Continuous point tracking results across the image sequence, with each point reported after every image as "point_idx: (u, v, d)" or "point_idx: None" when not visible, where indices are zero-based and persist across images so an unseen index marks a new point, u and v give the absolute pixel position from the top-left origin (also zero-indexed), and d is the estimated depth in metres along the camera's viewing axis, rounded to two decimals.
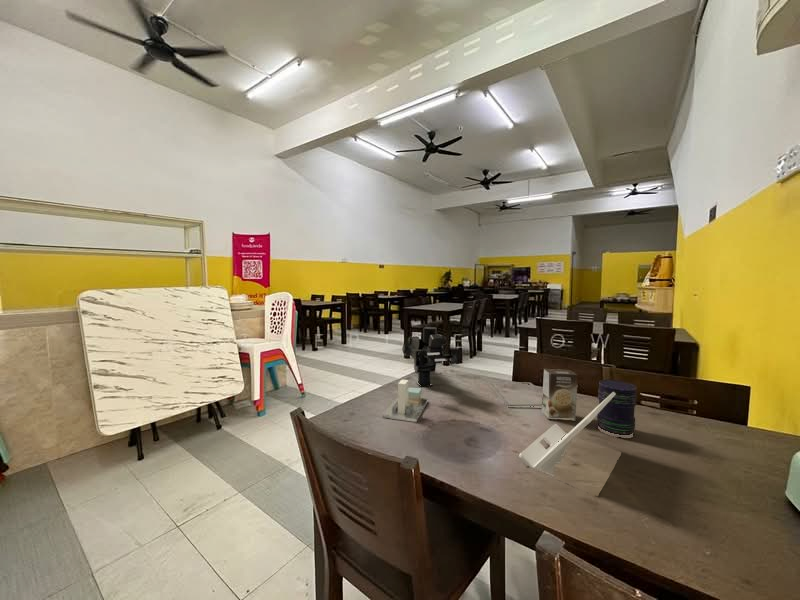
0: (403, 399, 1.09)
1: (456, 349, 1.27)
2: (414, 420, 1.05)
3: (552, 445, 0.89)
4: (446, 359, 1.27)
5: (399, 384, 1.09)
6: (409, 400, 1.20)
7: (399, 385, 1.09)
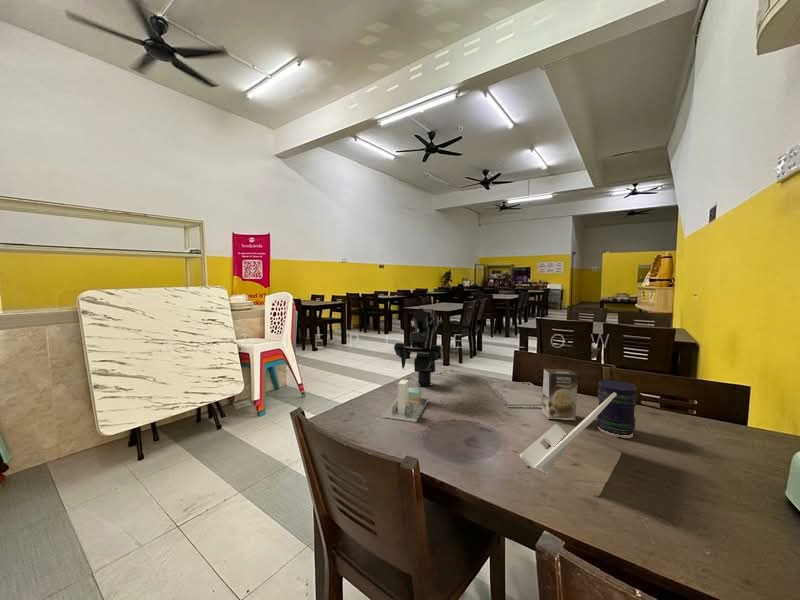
0: (403, 399, 1.09)
1: (436, 350, 1.22)
2: (414, 420, 1.05)
3: (553, 445, 0.89)
4: (428, 352, 1.26)
5: (399, 384, 1.09)
6: (409, 400, 1.20)
7: (399, 385, 1.09)
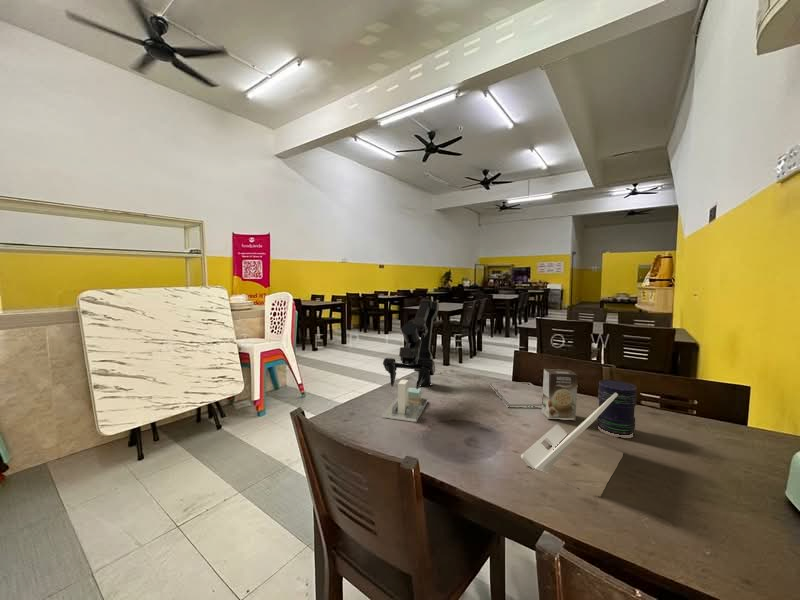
0: (403, 399, 1.09)
1: (427, 366, 1.13)
2: (414, 420, 1.05)
3: (554, 446, 0.89)
4: (419, 369, 1.18)
5: (399, 384, 1.09)
6: (409, 400, 1.20)
7: (399, 385, 1.09)
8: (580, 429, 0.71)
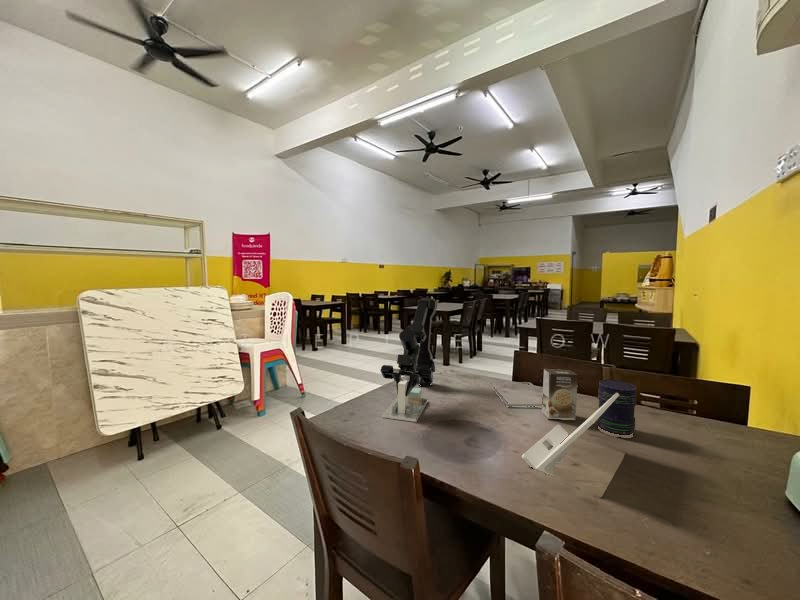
0: (403, 399, 1.09)
1: (425, 374, 1.10)
2: (414, 420, 1.05)
3: (555, 446, 0.89)
4: None
5: (399, 384, 1.09)
6: (409, 400, 1.20)
7: (399, 385, 1.09)
8: (581, 429, 0.71)
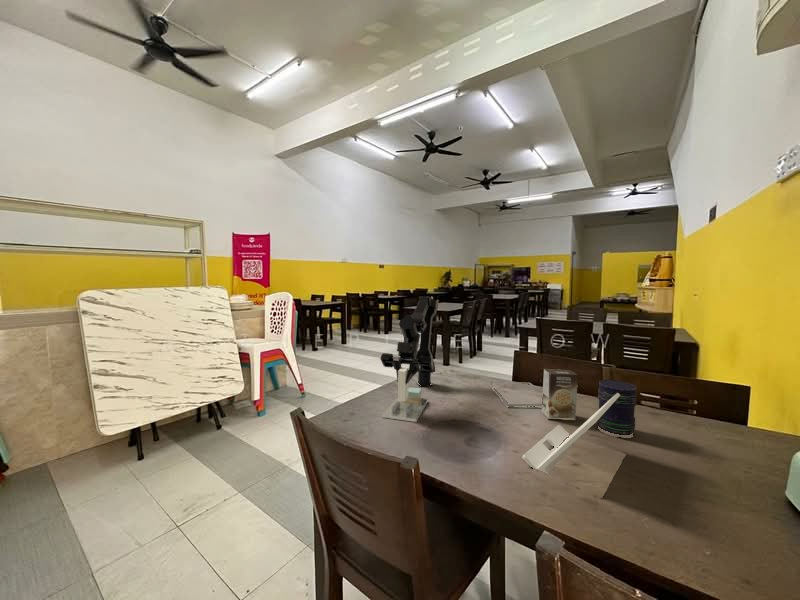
0: (403, 387, 1.09)
1: (425, 361, 1.10)
2: (414, 420, 1.05)
3: (556, 446, 0.89)
4: None
5: (399, 372, 1.09)
6: (409, 400, 1.20)
7: (399, 373, 1.09)
8: (582, 430, 0.71)
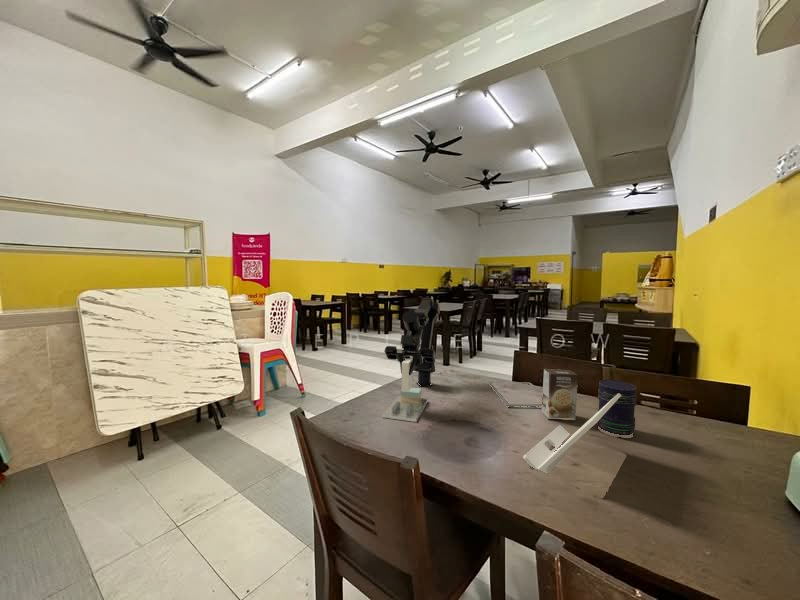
0: (407, 378, 1.13)
1: (428, 353, 1.14)
2: (414, 420, 1.05)
3: (556, 447, 0.89)
4: None
5: (403, 363, 1.13)
6: (409, 400, 1.20)
7: (403, 364, 1.13)
8: (583, 430, 0.71)
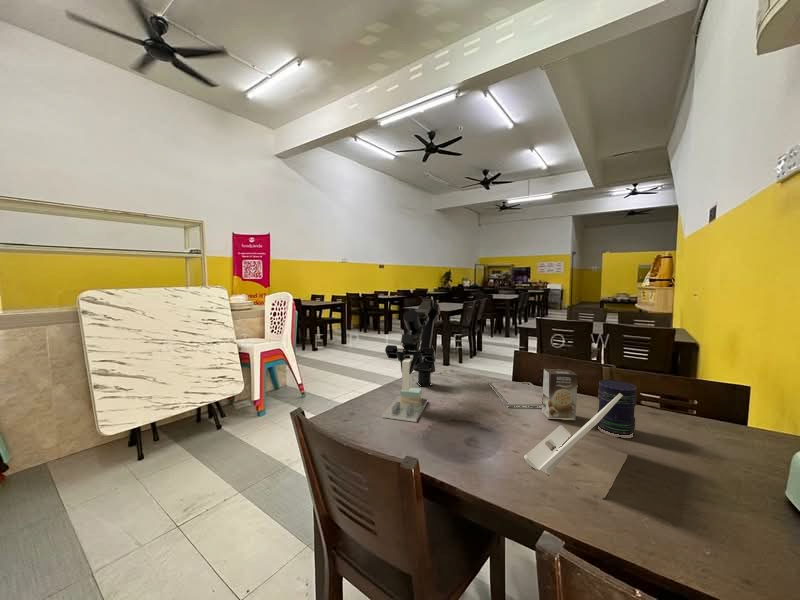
0: (407, 376, 1.13)
1: (428, 352, 1.15)
2: (414, 420, 1.05)
3: (557, 447, 0.88)
4: None
5: (403, 362, 1.14)
6: (409, 400, 1.20)
7: (403, 363, 1.14)
8: (584, 430, 0.70)
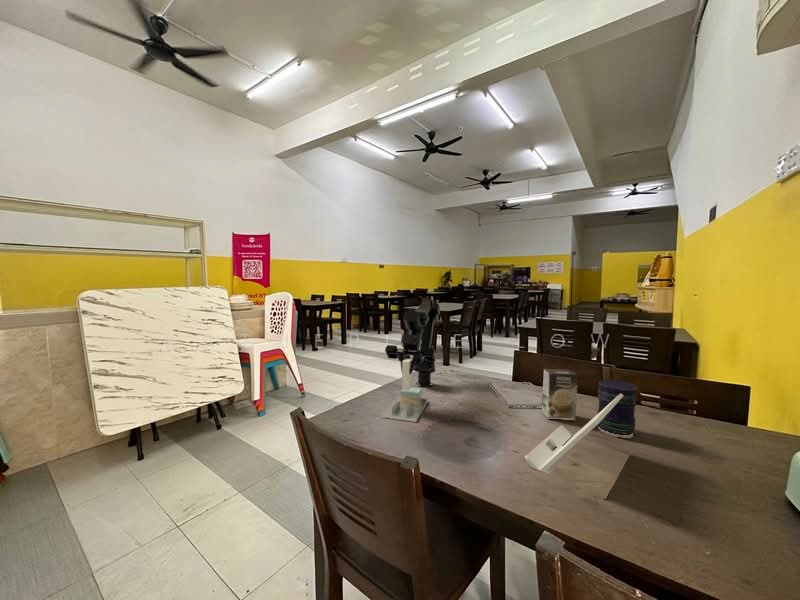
0: (407, 376, 1.13)
1: (428, 352, 1.15)
2: (414, 420, 1.05)
3: (558, 447, 0.88)
4: None
5: (403, 362, 1.14)
6: (409, 400, 1.20)
7: (403, 363, 1.14)
8: (585, 430, 0.70)
